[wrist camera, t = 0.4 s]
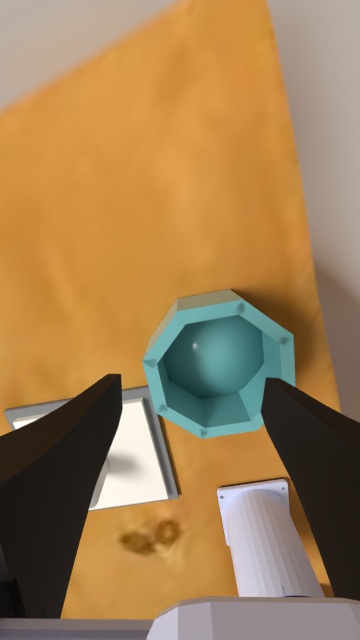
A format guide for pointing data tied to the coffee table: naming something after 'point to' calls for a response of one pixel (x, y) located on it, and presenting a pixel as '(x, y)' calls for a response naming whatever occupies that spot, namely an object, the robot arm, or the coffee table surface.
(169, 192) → the coffee table surface
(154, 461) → the lid
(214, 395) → the bowl
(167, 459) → the mat
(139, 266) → the coffee table surface
